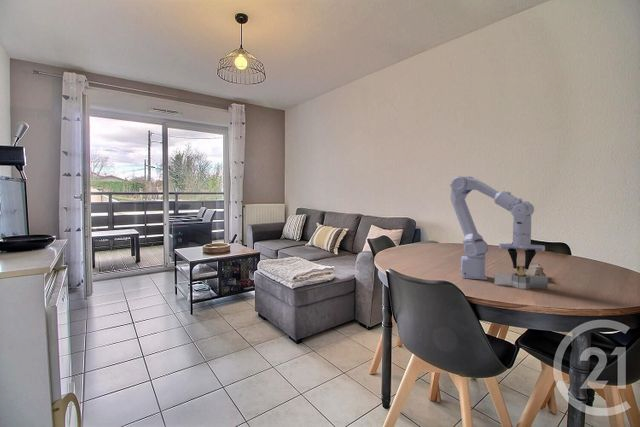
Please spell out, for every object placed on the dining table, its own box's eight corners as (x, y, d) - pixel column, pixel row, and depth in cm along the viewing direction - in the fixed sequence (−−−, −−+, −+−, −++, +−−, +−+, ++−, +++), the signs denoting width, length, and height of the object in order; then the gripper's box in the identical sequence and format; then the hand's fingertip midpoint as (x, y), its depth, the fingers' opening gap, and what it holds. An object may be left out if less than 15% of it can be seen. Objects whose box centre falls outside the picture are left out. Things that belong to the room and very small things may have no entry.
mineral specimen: (553, 282, 121) (554, 267, 121) (534, 281, 122) (534, 266, 121) (534, 273, 134) (535, 259, 133) (517, 273, 135) (518, 259, 134)
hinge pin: (517, 284, 116) (518, 266, 115) (515, 282, 118) (516, 265, 117) (524, 285, 115) (525, 267, 114) (522, 283, 117) (523, 265, 116)
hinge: (495, 286, 117) (496, 275, 116) (493, 282, 122) (493, 271, 122) (549, 291, 111) (550, 279, 110) (544, 286, 116) (545, 274, 116)
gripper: (502, 234, 114) (501, 269, 115) (548, 235, 108) (546, 272, 110) (498, 231, 120) (497, 265, 121) (541, 232, 115) (540, 267, 116)
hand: (520, 268), depth 116 cm, fingers open, 3 cm apart
